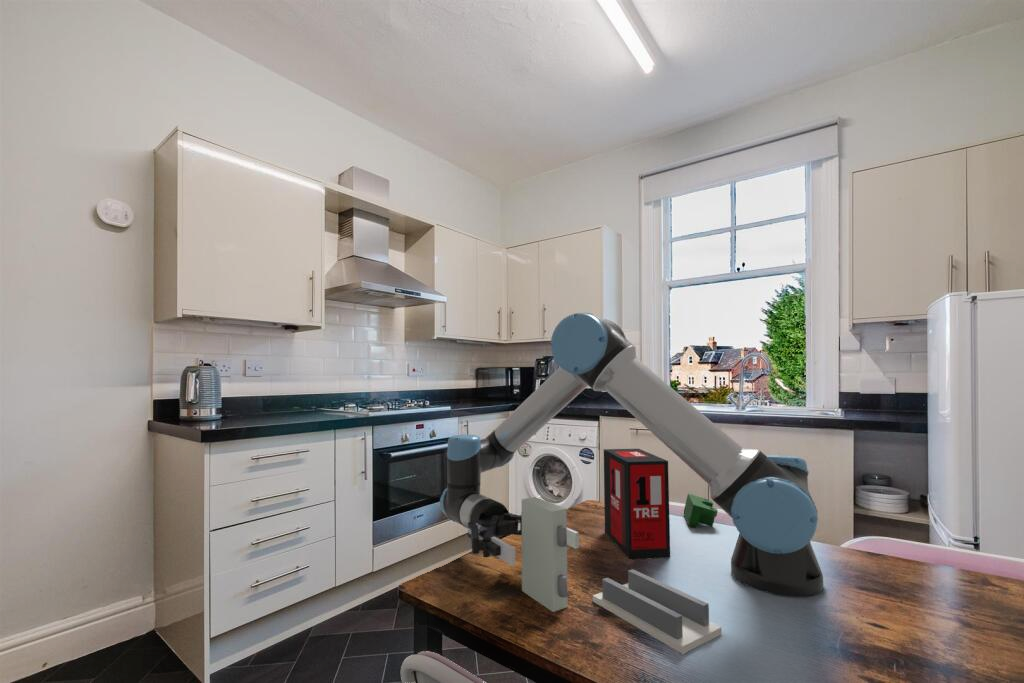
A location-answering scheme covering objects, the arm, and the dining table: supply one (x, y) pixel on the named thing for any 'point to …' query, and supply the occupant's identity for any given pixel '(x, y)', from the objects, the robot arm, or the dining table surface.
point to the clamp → (699, 511)
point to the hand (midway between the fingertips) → (546, 548)
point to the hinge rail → (659, 611)
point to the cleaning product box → (637, 503)
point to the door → (544, 552)
